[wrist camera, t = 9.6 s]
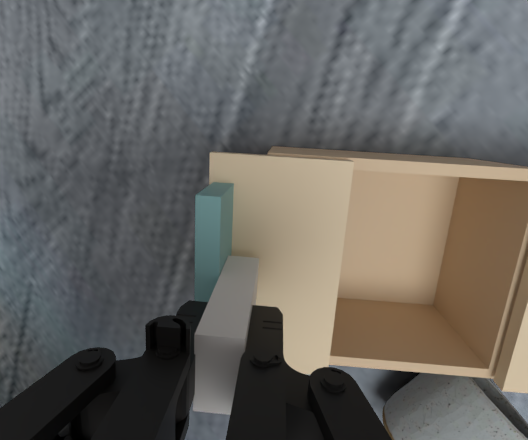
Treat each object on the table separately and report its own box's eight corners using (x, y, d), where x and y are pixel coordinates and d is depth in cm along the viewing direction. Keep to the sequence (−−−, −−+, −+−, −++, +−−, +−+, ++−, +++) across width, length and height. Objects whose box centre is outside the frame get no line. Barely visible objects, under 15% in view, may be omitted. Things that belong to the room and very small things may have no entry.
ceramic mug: (365, 391, 30) (394, 479, 22) (436, 330, 28) (494, 404, 20) (447, 455, 31) (500, 558, 24) (520, 402, 29) (602, 495, 22)
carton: (263, 295, 28) (255, 358, 20) (272, 145, 25) (267, 152, 17) (435, 308, 27) (496, 378, 19) (467, 158, 24) (554, 170, 16)
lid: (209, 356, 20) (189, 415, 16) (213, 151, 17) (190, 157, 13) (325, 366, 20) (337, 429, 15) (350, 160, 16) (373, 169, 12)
